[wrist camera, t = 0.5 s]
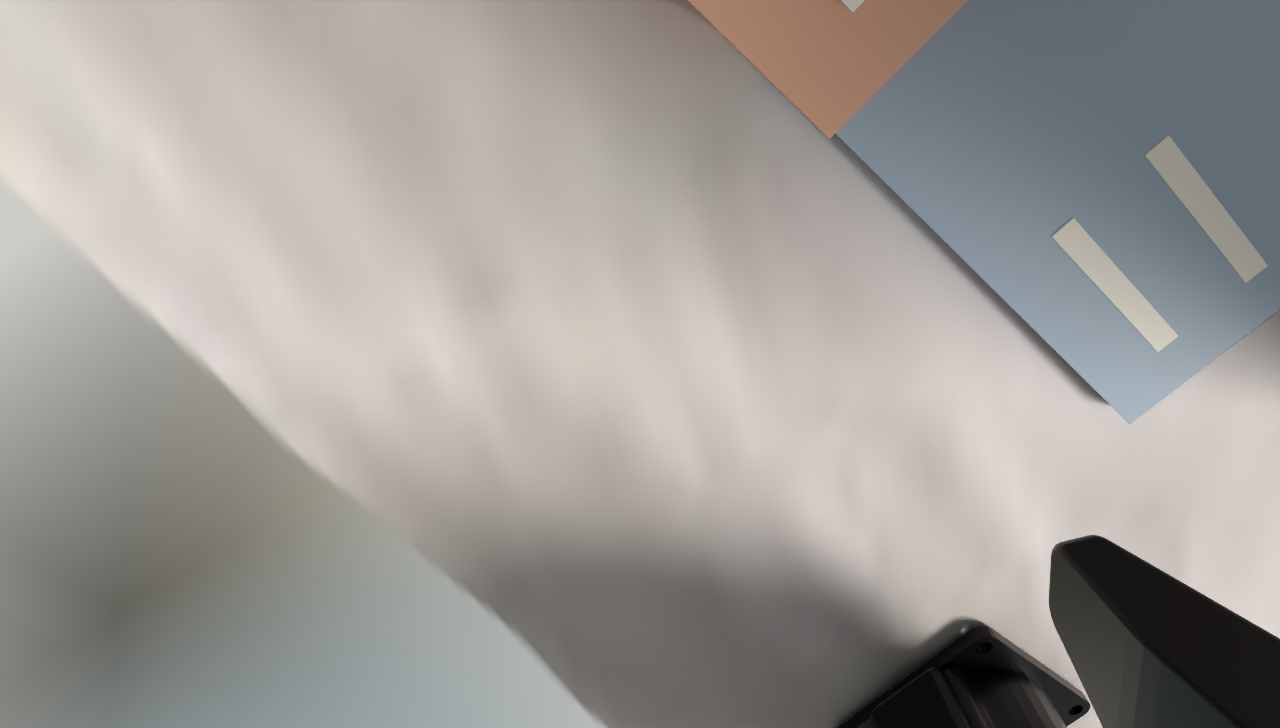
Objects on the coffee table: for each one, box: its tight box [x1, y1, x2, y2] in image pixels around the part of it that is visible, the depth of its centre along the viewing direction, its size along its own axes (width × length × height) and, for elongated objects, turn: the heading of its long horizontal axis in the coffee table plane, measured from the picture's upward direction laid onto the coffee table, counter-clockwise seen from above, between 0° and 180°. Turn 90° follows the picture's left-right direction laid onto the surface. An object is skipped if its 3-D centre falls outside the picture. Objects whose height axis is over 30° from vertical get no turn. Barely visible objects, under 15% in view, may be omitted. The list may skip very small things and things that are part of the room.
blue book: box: [835, 0, 1280, 424], centre depth 21 cm, size 14×9×1 cm, turn 47°
